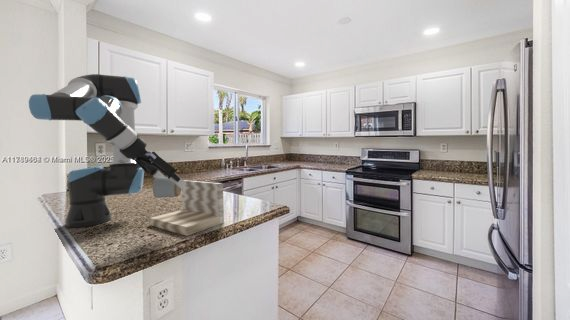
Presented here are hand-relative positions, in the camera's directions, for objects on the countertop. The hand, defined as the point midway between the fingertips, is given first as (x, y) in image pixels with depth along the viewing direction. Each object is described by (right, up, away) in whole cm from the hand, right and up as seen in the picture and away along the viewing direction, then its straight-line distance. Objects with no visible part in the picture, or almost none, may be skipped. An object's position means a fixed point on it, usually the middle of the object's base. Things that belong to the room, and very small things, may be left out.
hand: (175, 184), depth 92 cm
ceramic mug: (-2, -4, -1) cm, 5 cm away
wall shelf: (+2, -16, +5) cm, 17 cm away
